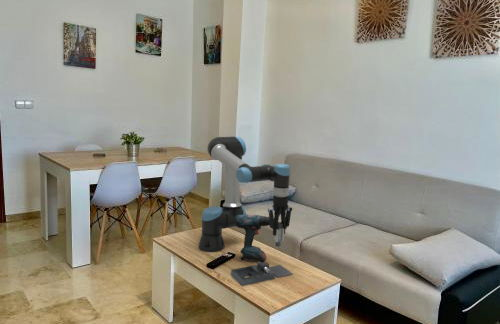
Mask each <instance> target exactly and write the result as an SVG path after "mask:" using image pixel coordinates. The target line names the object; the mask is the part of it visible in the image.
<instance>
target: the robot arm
mask: <svg viewBox="0 0 500 324" xmlns="http://www.w3.org/2000/svg"><path fill="white" fill-rule="evenodd" d="M246 151H247V147H246V142H245V141H244V139H243V138H242V137H240V136H217V137H214V138H212V139H211V140H210V141H209V142H208V144H207V153H208V155H209V157H211V159H213V160H214V161H219V162H220V163H221V164H223V166H224V202H223V204H222V207H221V206H209V207H207V208H204V209H203V211H202V214H201V236H200V238H199V241H198V249H199V250H200V251H203V252H206V253H207V252H209V253H216V252H220V251H223V250H224V249H225V241H224V237H223V234H222V233H223V229H229V228H236V227H237V226H236V224H235V217H236V216H237V215H244V214H247V213H246V209H245V207H244V206H243V204H242V203H241V202H240V184H242V183H243V184H247V183H254V182H255V183H256V182H265V181H269V182H270V181H271V182H273V191H272V192H273V194H272V195H273V196H272V206H271V208H268V209H267V213H268V217H269V225H268V226H269V228H270V229H272V235H273V241H274V242H275V243H276V242H278V229H277V226H278V222H279V221H280V222H282V223H283V227H282V235H281V242H284V241H285V234H286V230H287V228H288V227H290V222H291V221H290V220H291V214H292V211H293V207H291V206H289V195H290V194H289V193H290V192H289V191H290V190H289V189H290V177H291V176H290V175H291V172H290V170H291V169H290V167H291V166H290V165H289V164H286V163H276V164H274V165H270V164H265V163H264V164H262V165H257V166H251V165H249V164H248V163H246V162H245V161H243V160H242V159H243V156H245V154H246ZM237 228H238V227H237Z"/></svg>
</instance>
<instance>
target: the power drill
mask: <svg viewBox="0 0 500 324" xmlns="http://www.w3.org/2000/svg"><path fill="white" fill-rule="evenodd" d="M235 224H236V226H237V228H238V229H243V230H244V231H245V234H244V241H243V247H242V248H241V249H240V253H241V254H242V255H241V257H240V261H242V262H243V261H245V262H252V263H254V262H255V263H257V262H260V263H262V262H266V260H267V255H266V253H265V252H264V250H262V249H261V248H260V247H259V246H257V245H256V246H255V245H253V243H254V238H255V236H257V235H259V234H260V233H259V230H261V229H262V227H268V226H269V216H266V215H265V216H263V215H259V214H247V213H246V214H244V215H237V216H236V217H235Z"/></svg>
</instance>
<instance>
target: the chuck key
mask: <svg viewBox="0 0 500 324" xmlns="http://www.w3.org/2000/svg"><path fill="white" fill-rule="evenodd" d="M282 227H283V223H282V222H281V221H278V226H277V229H278V242H275V246H276V247H281V246H282V241H281V235H282Z"/></svg>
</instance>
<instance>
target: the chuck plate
mask: <svg viewBox="0 0 500 324" xmlns="http://www.w3.org/2000/svg"><path fill="white" fill-rule="evenodd" d="M269 267H270V264H269V263H268V262H266V261H265V262H262V263H260V262H256V264H253V265H249V266H248V265H247V266H244V267H239V268H234V269H231V271H230V276H231V277H232V278H233V279H234V280H235V281H236V282H237V283H238V284H240V285H241V286H242V287H244V286H248V285H253V284H259V283H261V282H265V281H266V282H267V281H270V280H275V279H276V276H275V273H274V272H273V271H272V270H270V269H269Z"/></svg>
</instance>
